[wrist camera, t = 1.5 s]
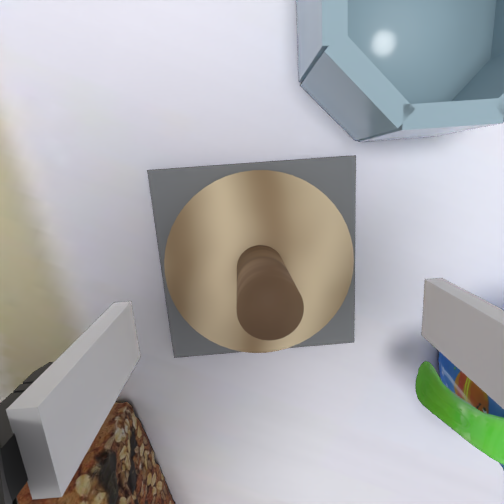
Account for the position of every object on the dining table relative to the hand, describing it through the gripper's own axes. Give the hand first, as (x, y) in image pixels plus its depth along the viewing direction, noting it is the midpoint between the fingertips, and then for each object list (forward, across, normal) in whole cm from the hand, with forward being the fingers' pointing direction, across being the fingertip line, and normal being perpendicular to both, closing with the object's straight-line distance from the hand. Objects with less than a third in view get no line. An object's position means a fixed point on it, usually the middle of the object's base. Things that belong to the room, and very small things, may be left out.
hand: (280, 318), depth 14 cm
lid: (+9, 0, 0) cm, 9 cm away
